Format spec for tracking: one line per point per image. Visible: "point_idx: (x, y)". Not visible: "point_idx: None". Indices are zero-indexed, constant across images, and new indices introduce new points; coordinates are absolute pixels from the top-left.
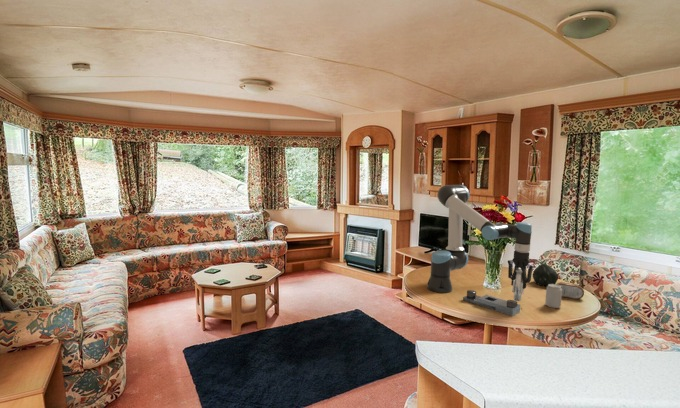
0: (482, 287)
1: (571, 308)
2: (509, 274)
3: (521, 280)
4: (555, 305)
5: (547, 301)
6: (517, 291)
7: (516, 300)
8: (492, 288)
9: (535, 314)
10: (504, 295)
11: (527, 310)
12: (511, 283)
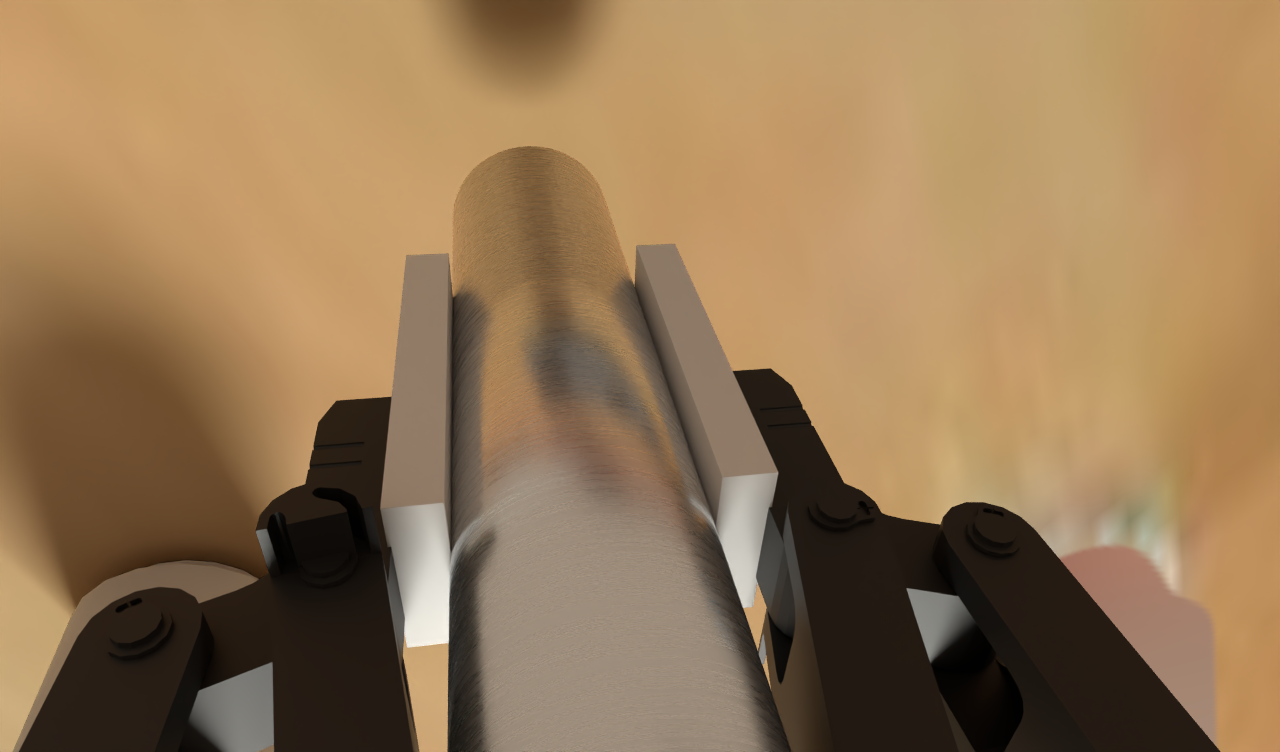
0: (1175, 479)
1: (13, 723)
2: (1064, 636)
3: (461, 598)
4: (84, 613)
5: None
6: (525, 261)
7: (515, 152)
8: (1051, 544)
9: (23, 39)
10: (860, 457)
11: (277, 133)
12: (798, 406)
